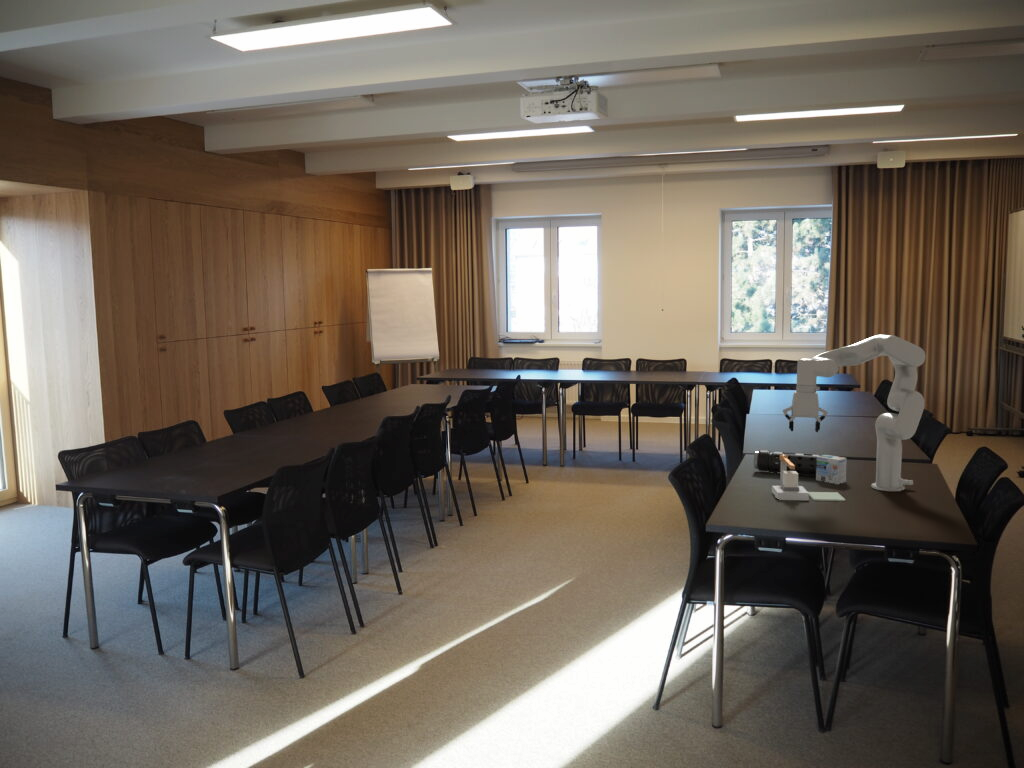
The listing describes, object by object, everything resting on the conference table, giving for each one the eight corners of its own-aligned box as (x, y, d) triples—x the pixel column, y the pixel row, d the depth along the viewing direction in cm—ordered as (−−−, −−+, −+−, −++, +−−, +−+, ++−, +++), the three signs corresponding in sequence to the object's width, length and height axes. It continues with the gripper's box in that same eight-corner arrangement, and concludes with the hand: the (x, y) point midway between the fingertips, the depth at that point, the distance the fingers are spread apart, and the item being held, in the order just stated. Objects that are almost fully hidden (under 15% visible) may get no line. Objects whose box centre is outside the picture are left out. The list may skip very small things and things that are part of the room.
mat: (837, 493, 346) (837, 492, 346) (845, 501, 335) (845, 499, 335) (807, 493, 348) (807, 491, 348) (813, 500, 336) (813, 499, 336)
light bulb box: (815, 480, 371) (816, 456, 370) (823, 478, 375) (824, 454, 374) (838, 484, 363) (839, 459, 361) (846, 482, 367) (847, 457, 366)
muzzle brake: (817, 479, 373) (818, 456, 372) (752, 473, 386) (753, 451, 384) (820, 475, 381) (821, 452, 380) (757, 469, 394) (757, 447, 393)
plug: (795, 495, 345) (796, 470, 344) (798, 498, 340) (799, 473, 339) (781, 494, 346) (781, 470, 345) (783, 498, 340) (784, 473, 339)
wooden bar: (779, 459, 357) (779, 454, 357) (786, 459, 357) (787, 454, 357) (788, 469, 338) (788, 464, 338) (796, 469, 337) (797, 464, 337)
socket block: (796, 487, 358) (797, 459, 356) (808, 500, 336) (809, 470, 335) (767, 487, 359) (768, 459, 358) (777, 499, 338) (778, 470, 336)
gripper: (827, 388, 345) (825, 430, 347) (782, 387, 348) (780, 429, 350) (830, 391, 337) (828, 433, 339) (784, 389, 341) (783, 431, 342)
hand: (804, 431), depth 345 cm, fingers open, 9 cm apart
